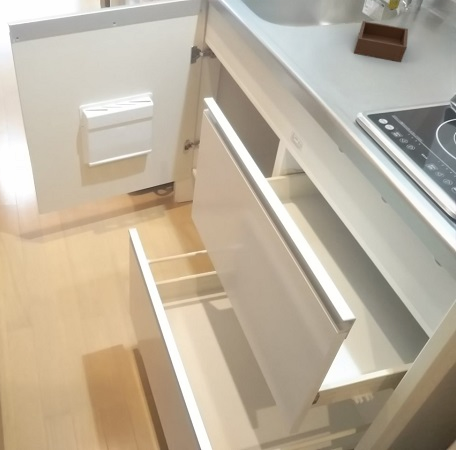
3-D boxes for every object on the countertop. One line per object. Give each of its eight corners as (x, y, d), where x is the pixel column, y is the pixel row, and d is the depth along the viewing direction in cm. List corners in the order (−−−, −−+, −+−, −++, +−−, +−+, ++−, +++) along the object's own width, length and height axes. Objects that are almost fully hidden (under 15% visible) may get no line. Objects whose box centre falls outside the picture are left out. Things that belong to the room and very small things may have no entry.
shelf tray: (402, 43, 124) (408, 28, 122) (400, 62, 116) (406, 47, 114) (358, 35, 127) (362, 20, 124) (353, 53, 119) (358, 38, 117)
